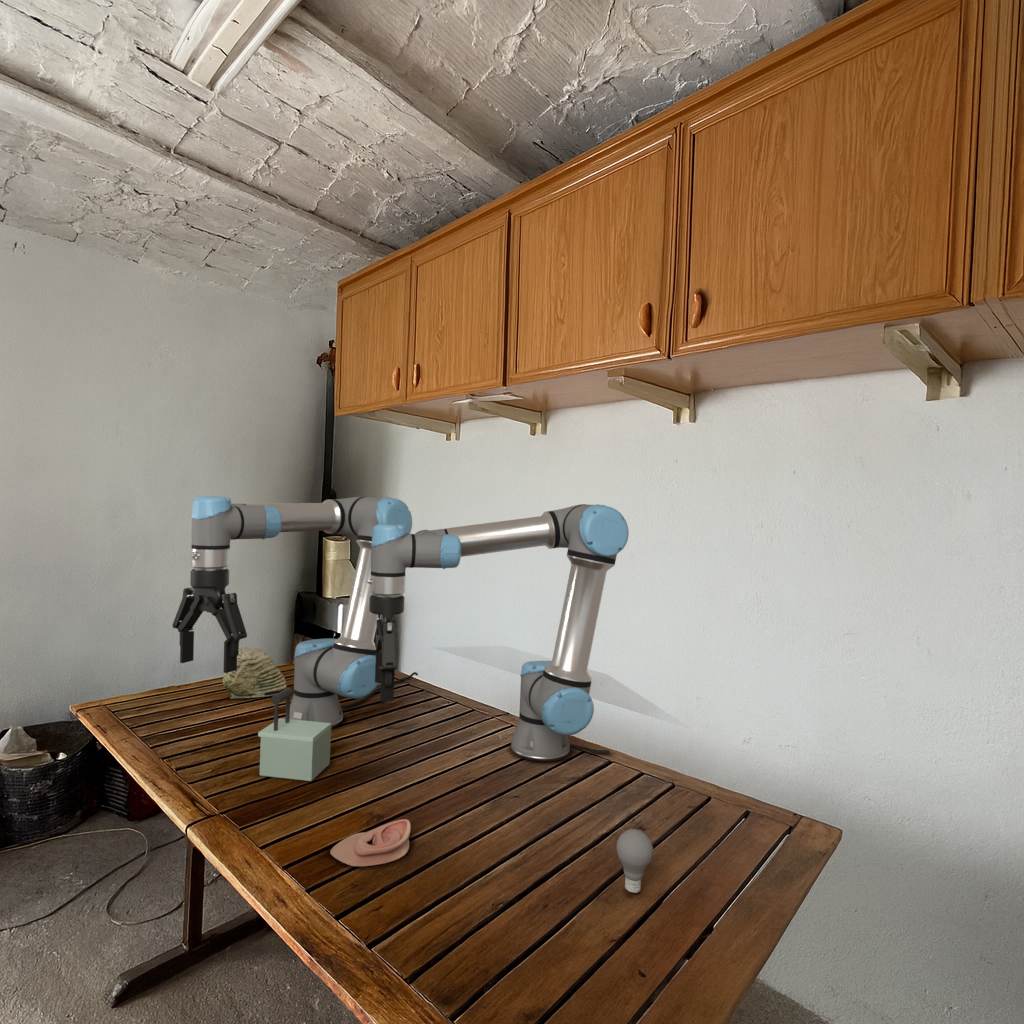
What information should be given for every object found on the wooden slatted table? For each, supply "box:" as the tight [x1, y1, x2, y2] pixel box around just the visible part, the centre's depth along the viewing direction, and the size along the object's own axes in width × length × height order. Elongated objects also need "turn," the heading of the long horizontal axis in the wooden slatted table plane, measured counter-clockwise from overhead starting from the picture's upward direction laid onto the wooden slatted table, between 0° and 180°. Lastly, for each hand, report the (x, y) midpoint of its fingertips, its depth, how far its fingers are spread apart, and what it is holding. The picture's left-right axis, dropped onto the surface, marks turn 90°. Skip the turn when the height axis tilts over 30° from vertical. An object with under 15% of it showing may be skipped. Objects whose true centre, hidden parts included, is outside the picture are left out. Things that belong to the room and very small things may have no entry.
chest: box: [259, 728, 332, 782], centre depth 146 cm, size 12×10×9 cm
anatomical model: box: [329, 818, 412, 867], centre depth 114 cm, size 13×4×12 cm
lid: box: [257, 687, 331, 742], centre depth 146 cm, size 13×10×9 cm
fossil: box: [222, 646, 288, 699], centre depth 198 cm, size 9×18×15 cm, turn 132°
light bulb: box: [615, 828, 654, 894], centre depth 106 cm, size 6×6×10 cm
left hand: (207, 666), depth 136 cm, fingers open, 13 cm apart
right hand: (383, 691), depth 139 cm, fingers open, 13 cm apart
